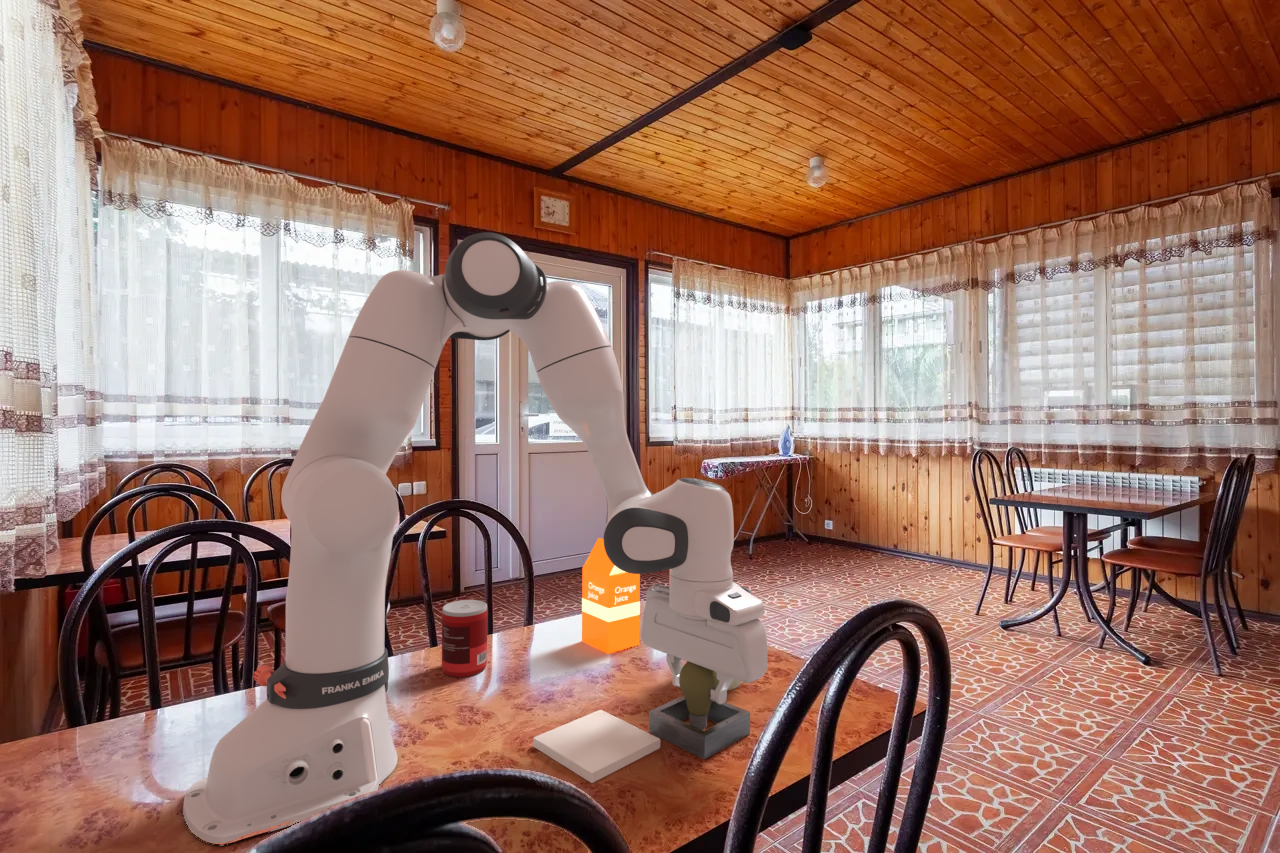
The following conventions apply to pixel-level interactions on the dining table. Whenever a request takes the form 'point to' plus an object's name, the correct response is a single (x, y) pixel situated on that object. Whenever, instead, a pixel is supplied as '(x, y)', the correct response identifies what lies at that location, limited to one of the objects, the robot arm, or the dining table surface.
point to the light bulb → (697, 692)
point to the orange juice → (609, 603)
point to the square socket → (694, 740)
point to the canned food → (464, 638)
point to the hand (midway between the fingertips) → (698, 693)
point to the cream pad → (596, 744)
